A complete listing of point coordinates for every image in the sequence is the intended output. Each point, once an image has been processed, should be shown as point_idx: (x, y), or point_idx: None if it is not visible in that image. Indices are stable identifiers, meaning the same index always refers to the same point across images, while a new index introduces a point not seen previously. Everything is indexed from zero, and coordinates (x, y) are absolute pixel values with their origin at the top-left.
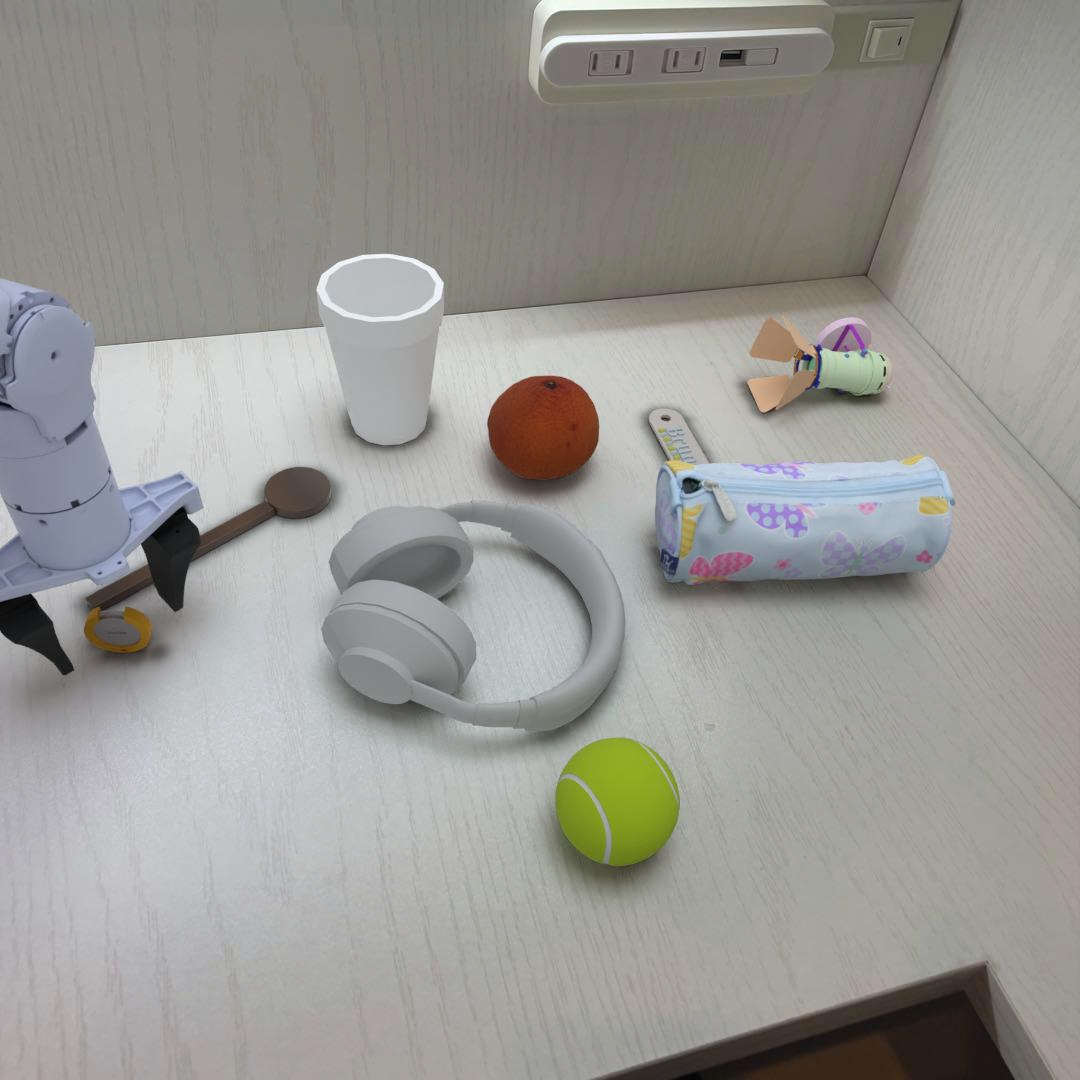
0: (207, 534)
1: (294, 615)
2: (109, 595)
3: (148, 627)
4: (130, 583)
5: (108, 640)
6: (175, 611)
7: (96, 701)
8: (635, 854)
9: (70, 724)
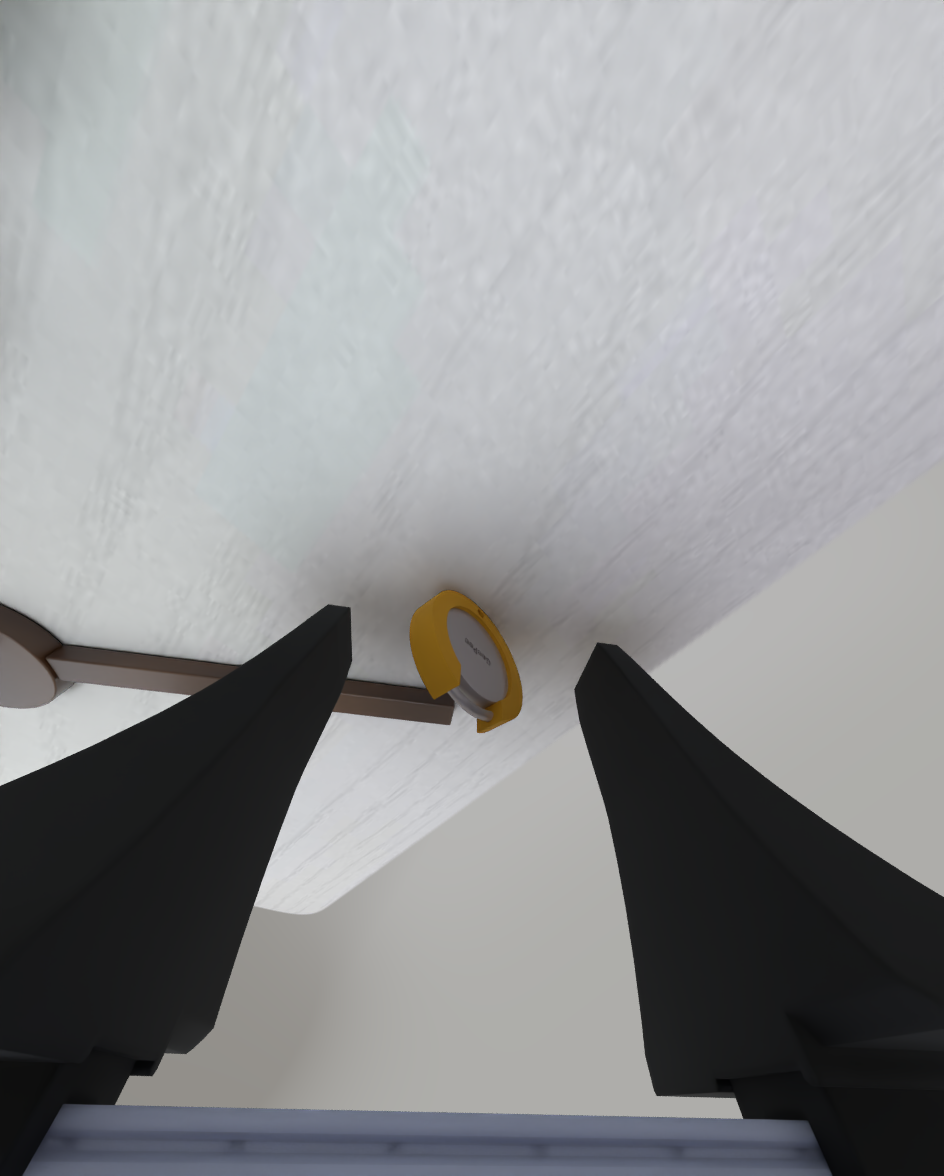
0: None
1: (98, 385)
2: (419, 707)
3: (424, 617)
4: (378, 702)
5: (492, 648)
6: (347, 608)
7: (594, 563)
8: None
9: (662, 559)
